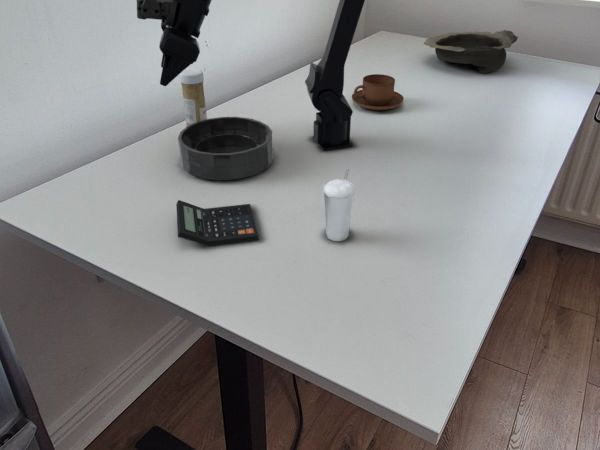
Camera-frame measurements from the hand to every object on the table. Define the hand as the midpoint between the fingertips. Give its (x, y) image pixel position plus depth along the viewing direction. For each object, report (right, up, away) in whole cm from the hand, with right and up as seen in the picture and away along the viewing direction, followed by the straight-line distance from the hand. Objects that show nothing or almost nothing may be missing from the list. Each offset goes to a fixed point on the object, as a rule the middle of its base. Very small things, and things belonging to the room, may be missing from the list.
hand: (163, 76), depth 100 cm
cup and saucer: (+43, +1, +29) cm, 52 cm away
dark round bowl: (+11, -15, +5) cm, 19 cm away
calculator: (+12, -28, -15) cm, 34 cm away
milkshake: (+31, -29, -16) cm, 45 cm away
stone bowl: (+72, +18, +56) cm, 93 cm away
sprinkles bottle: (+4, -8, +15) cm, 17 cm away
